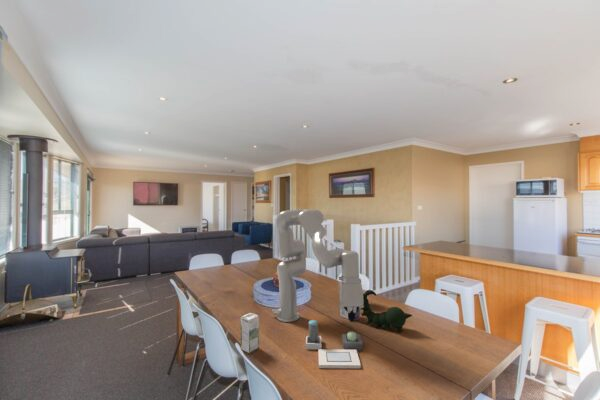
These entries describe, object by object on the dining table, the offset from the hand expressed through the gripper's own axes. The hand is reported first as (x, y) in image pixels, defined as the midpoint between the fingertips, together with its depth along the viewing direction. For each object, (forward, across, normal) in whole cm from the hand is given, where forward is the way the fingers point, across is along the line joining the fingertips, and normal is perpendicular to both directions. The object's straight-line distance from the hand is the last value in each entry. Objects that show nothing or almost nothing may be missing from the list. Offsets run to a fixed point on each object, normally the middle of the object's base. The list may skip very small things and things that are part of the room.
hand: (351, 320), depth 120 cm
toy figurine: (+11, +19, +17) cm, 28 cm away
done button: (+9, 0, 0) cm, 9 cm away
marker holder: (+11, -17, 0) cm, 20 cm away
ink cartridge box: (+11, +3, +29) cm, 31 cm away
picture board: (+11, -7, -11) cm, 17 cm away
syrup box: (+11, -45, -3) cm, 47 cm away
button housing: (+11, 0, 0) cm, 11 cm away
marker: (+11, -17, 0) cm, 20 cm away
